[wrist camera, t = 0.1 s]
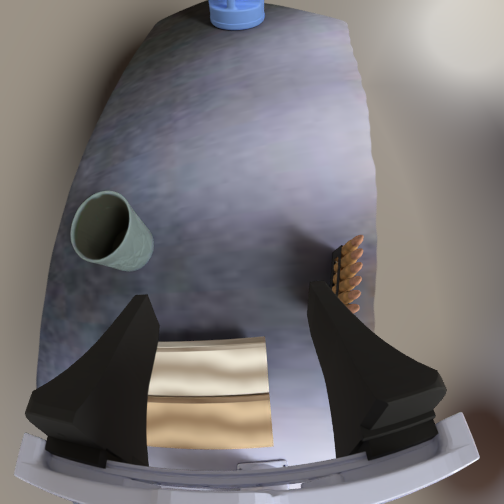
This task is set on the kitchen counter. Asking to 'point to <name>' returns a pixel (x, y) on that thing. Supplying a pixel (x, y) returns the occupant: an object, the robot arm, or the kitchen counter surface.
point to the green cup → (111, 233)
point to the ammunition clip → (347, 272)
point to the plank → (210, 368)
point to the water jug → (236, 13)
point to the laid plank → (209, 421)
